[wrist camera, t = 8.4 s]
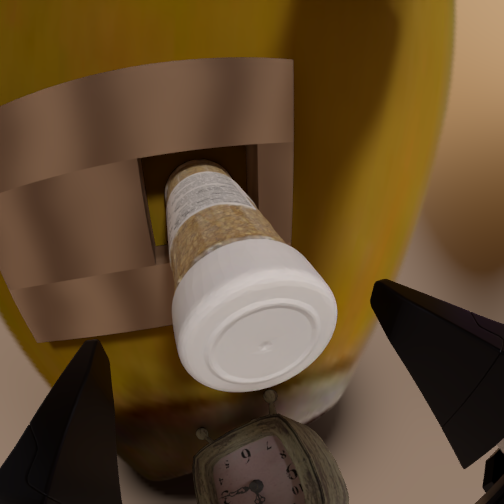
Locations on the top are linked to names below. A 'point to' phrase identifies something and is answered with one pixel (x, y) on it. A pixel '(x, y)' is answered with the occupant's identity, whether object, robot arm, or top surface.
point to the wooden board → (126, 183)
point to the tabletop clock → (267, 464)
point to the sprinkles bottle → (239, 287)
